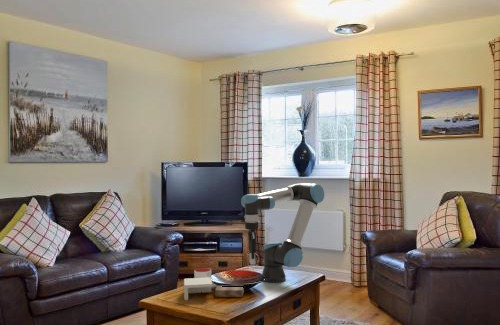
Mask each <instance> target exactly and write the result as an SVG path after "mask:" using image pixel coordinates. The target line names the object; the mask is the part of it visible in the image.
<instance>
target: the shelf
mask: <svg viewBox="0 0 500 325" xmlns="http://www.w3.org/2000/svg"><path fill="white" fill-rule="evenodd" d="M212 287H213V280H212V276H211V277H207V278H194V277H193V278H191V277H190V278H189V277H188V278H184V279H183V288H184V289H183V290H184V291H183V292H184V296H183V297H184V301H189V294H197V293H201V292H202V293H211V292H212Z"/></svg>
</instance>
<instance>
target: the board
mask: <svg viewBox="0 0 500 325" xmlns="http://www.w3.org/2000/svg"><path fill="white" fill-rule="evenodd" d="M222 286H223V285H217V286H216V288H215V290H214V296H215V297H216V298H221V297H223V298H227V297H228V298H243V295H244V293H245V290H244V289H245V287H244V288H243V287H222Z"/></svg>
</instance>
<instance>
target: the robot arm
mask: <svg viewBox="0 0 500 325" xmlns="http://www.w3.org/2000/svg"><path fill="white" fill-rule="evenodd" d="M324 198H325V191H324V187H322V185H321V184H319V183H314V182H313V183H307V182H300V183H294V184H290V185H287V186H285V187H283V188H281V189H280V188H279V189H275V190H270V191H266V192H261V193H257V194H256V193H250V194H249V193H248V194H245V195H243V196H242V198H241V199H240V203H241V206H242V207H243V208H244V216H243V218H244V229H245V230H248V232H247V238H248V240H247V241H248V255H249V256H248V257H249V258H248V259H249V260H248V261H249V262H248V263H249V264H250V265H256V253H257V252H256V251H257V248H256V246H257V244H256V242H257V241H256V240H257V233H256V231H255V230H259V211H264V210H265V211H266V210H267V211H270V210H272V209H274V208H275V206H276V203H280V202H283V201H287V202H291V201H292V202H293V201H297V202H298V203H299V207H298V209H297V211H296V214H295V217H294V220H293V223H292V224H291V225H292V226H291V227H290V228H291V229H290V231H289V234H288V237H287V239H285V240H283V242H282V241H271V242H266V243H264V244H263V270H262V273H261V275H264V276H265V281H264V282H266V283H280V282H281V283H282V282H285V281H286V278H287V277H286V273H285V270H284V267H287V268H295V267H298V266H299V265H300V264H301V263H302V261H303V258H304V253H303V251H302V249H303V247H302V245H301V244H302V242H303V239H304V236H305V234H306V231H307V227H308V225H309V223H310V219H311V216H312V213H313V211H314V209H316V208H317V206H318V205H319V204H320V203H322V202H323V201H324ZM283 266H284V267H283Z"/></svg>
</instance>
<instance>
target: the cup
mask: <svg viewBox="0 0 500 325" xmlns="http://www.w3.org/2000/svg"><path fill="white" fill-rule="evenodd" d="M193 270H194V272H193V273H194V274H193V275H194V277H193V278H207V277H211V278H212V269H211V268H207V267H203V268H196V269H193Z"/></svg>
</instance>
